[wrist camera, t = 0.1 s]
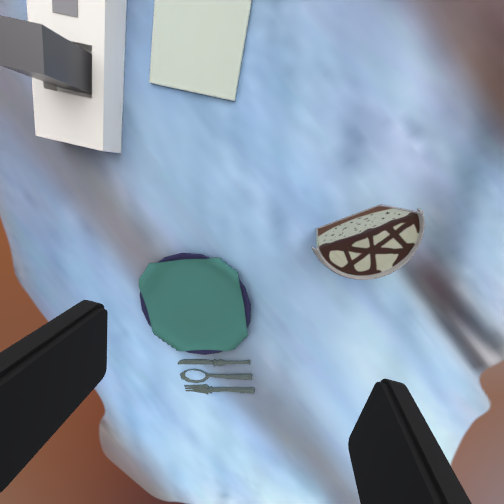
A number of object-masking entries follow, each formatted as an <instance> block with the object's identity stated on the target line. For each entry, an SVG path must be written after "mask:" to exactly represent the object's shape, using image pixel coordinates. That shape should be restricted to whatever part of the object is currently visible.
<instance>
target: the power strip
mask: <svg viewBox="0 0 504 504" xmlns="http://www.w3.org/2000/svg"><path fill="white" fill-rule="evenodd" d="M126 9H127V0H27V13H28V21H29V22H34V23H39V24H42V25H44V26H46V27H47V28H49V29H51V30H52V31H54V32H56V33H57V34H59V35H61V36H62V37H64V38H66V39H67V40H69V41H71V42H72V43H74V44H76V45H77V46H79V47H81V48H82V49H84V50H86V51H87V52H89V53H91V54H92V95H91V94H87V93H82V92H77V91H73V90H68V89H64V88H60V87H57V86H55V85H52V84H49V83H47V82H44V81H41V80H38V79H36V78H33V77H32V87H33V102H34V117H35V132H36V136H40V137H44V138H49V139H53V140H57V141H61V142H66V143H70V144H74V145H78V146H83V147H87V148H91V149H96V150H100V151H106V152H115V153H121V142H122V115H123V89H124V62H125V36H126Z"/></svg>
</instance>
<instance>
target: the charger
mask: <svg viewBox="0 0 504 504" xmlns="http://www.w3.org/2000/svg"><path fill="white" fill-rule="evenodd" d="M0 65H1V66H3V67H6V68H9V69H11V70H14V71H17V72H20V73H22V74H25V75H28V76H30V77H33V78H36V79H38V80H41V81H44V82H47V83H49V84H52V85H55V86H57V87H60V88H64V89H68V90H73V91H77V92H82V93H87V94H91V95H92V54H91V53H89V52H87V51H86V50H84V49H82V48H81V47H79V46H77V45H76V44H74V43H72V42H71V41H69V40H67V39H66V38H64V37H62V36H61V35H59V34H57V33H56V32H54V31H52V30H51V29H49V28H47V27H46V26H44V25H42V24H39V23H34V22H29V21H24V20H19V19H14V18H10V17H5V16H0Z"/></svg>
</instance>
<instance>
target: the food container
mask: <svg viewBox="0 0 504 504" xmlns="http://www.w3.org/2000/svg"><path fill="white" fill-rule="evenodd" d="M423 232H424V214H423V211H422V210H421V209H419V208H418V211H413V210H408V209H402V208H397V207H391V206H386V205H381V204H379V205H377V206H374V207H372V208H369V209H366V210H364V211H361V212H358V213H356V214H353V215H350V216H348V217H345V218H342V219H340V220H337V221H334V222H332V223H329V224H326V225H324V226H321V227H318V228H316V244H317V248H316V249H315V248H314V247H311V248H312V250H313V252H314V254H315V255H316V256H317V258H318V259H319V260H320V261H321V262H322V263H323V264H324V265H325V266H326V267H327V268H329V269H330V270H332V271H333V272H335V273H337V274H339V275H341V276H344V277H346V278H351V279H359V280H368V279H375V278H380V277H383V276H386V275H388V274H391V273H392V272H394V271H396V270H398V269H399V268H400V267H402V266H403V265H404V264H405V263H407V262H408V261H409V260H410V259H411V257H412V256H413V255H414V253H415V252H416V250H417V249H418V247H419V245H420V243H421V240H422V237H423Z"/></svg>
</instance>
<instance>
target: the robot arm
mask: <svg viewBox="0 0 504 504" xmlns="http://www.w3.org/2000/svg"><path fill="white" fill-rule="evenodd" d="M106 367H107V310H105V309H104V306H103V304H100V303H96V302H93V301H89V300H83V301H81V302H80V303H78V304H76V305H75V306H73V307H72V308H70V309H69V310H67V311H65V312H64V313H62V314H61V315H59V316H57V317H56V318H54V319H53V320H51V321H50V322H48V323H47V324H45V325H43V326H42V327H41V328H39V329H37V330H36V331H34V332H32V333H31V334H29V335H27V336H26V337H24V338H23V339H21V340H20V341H18V342H16V343H15V344H13V345H12V346H10V347H9V348H7V349H5V350H4V351H2V352H1V353H0V492H2V491H3V490H4V489H5V488H6V487H7V486H8V485H9V483H10V482H11V481H12V480H13V479H14V478H15V477H16V476H17V474H18V473H19V472H20V471H21V470H22V469H23V468H24V467H25V466H26V464H27V463H28V462H29V461H30V460H31V459H32V458H33V457H34V455H35V454H36V453H37V452H38V451H39V450H40V449H41V448H42V446H43V445H44V444H45V443H46V442H47V441H48V439H49V438H50V437H51V436H52V435H53V434H54V433H55V432H56V431H57V430H58V428H59V427H60V426H61V425H62V424H63V423H64V422H65V420H66V419H67V418H68V417H69V416H70V415H71V414H72V412H74V410H75V409H76V408H77V407H78V406H79V405H80V404H81V402H82V401H83V400H84V399H85V398H86V397H87V396H88V395H89V393H90V392H91V391H92V390H93V389H94V388H95V387H96V386H97V384H98V383H99V382H100V381H101V380H102V379H103V377H104V375H105V373H106ZM348 446H349V453H350V458H351V462H352V467H353V471H354V476H355V480H356V485H357V489H358V494H359V498H360V503H361V504H471V502H470V500H469V498H468V496H467V495H466V493H465V491H464V489H463V487H462V486H461V484H460V482H459V481H458V479H457V477H456V475H455V473H454V471H453V470H452V468H451V466H450V464H449V462H448V460H447V459H446V457H445V455H444V453H443V451H442V450H441V448H440V446H439V444H438V442H437V441H436V439H435V437H434V435H433V433H432V432H431V430H430V428H429V426H428V424H427V423H426V421H425V419H424V417H423V415H422V414H421V412H420V410H419V408H418V407H417V405H416V403H415V401H414V399H413V398H412V396H411V394H410V392H409V390H408V389H407V387H406V386H405V385H404V384H403V383H400V382H396V381H392V380H388V379H383V380H382V381H381V382H377V383H376V384H375V385H374V388H373V390H372V392H371V394H370V396H369V398H368V400H367V402H366V404H365V406H364V408H363V410H362V412H361V414H360V416H359V419H358V421H357V423H356V425H355V427H354V429H353V431H352V433H351V435H350V437H349V443H348Z"/></svg>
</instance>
